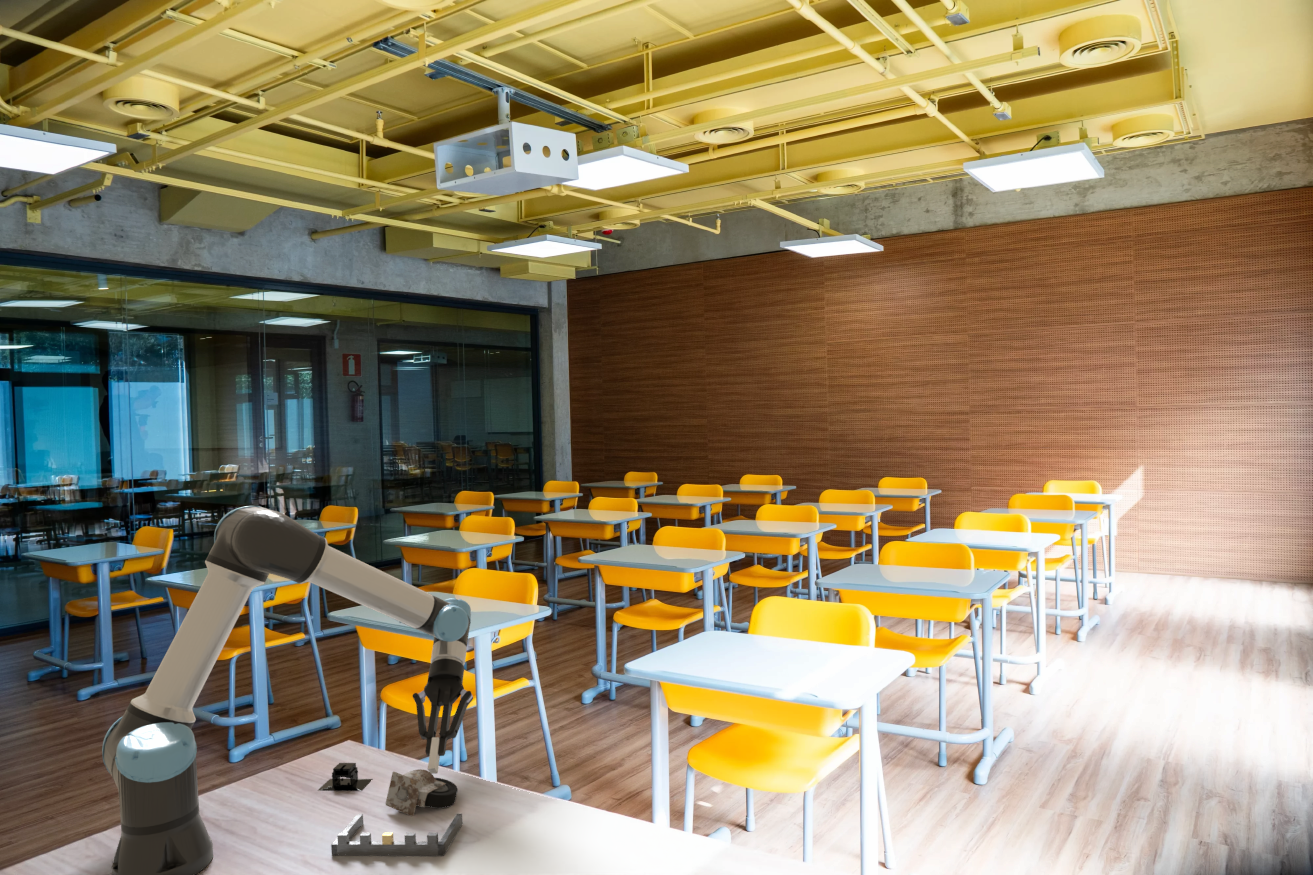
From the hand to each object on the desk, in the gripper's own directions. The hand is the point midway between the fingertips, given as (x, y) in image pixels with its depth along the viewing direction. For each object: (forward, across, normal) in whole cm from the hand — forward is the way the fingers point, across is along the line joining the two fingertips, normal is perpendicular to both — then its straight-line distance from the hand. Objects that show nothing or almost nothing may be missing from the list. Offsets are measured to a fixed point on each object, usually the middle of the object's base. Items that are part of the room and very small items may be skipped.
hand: (432, 770), depth 173 cm
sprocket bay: (+17, +1, +12) cm, 21 cm away
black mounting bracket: (+1, +19, -5) cm, 20 cm away
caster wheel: (+8, 0, +2) cm, 8 cm away
